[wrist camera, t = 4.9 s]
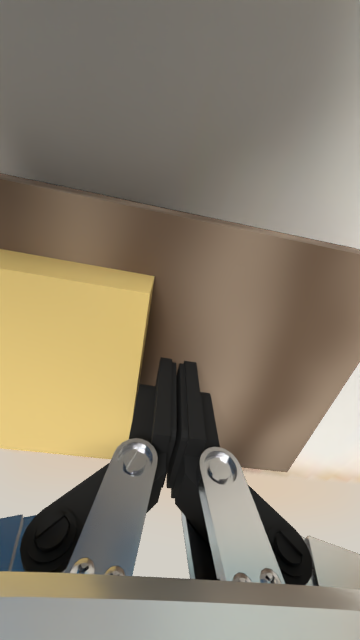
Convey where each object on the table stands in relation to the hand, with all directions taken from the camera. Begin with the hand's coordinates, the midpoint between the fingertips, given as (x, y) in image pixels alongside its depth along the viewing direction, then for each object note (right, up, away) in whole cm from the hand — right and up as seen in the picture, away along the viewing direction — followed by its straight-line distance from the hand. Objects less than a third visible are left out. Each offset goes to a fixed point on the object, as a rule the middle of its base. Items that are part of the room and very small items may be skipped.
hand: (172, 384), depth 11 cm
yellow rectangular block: (-4, +1, 0) cm, 5 cm away
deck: (-1, +2, +4) cm, 5 cm away
